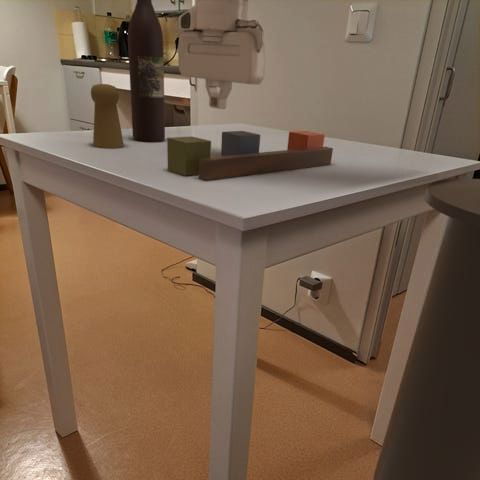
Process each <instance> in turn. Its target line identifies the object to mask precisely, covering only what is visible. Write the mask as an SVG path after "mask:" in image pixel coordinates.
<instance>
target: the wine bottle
mask: <svg viewBox="0 0 480 480" xmlns="http://www.w3.org/2000/svg"><path fill="white" fill-rule="evenodd" d="M152 2H153V1H152V0H136V3H135V6H134V10H133V12H132V14H131V17H130V19H129V23H128V27H127V28H128V29H127V48H128V49H127V51H128V70H129V86H130V87H129V89H130V107H131V108H130V109H131V110H130V111H131V126H132V128H131V129H132V130H131V131H132V138H133V140H136V141H139V142H148V143H156V142H157V143H158V142H163V141H165V137H166V121H165V120H166V119H165V118H166V117H165V115H166V114H165V112H166V111H165V69H164V68H165V66H164V65H165V63H164V34H163V28H162V25H161V22H160V20H159V18H158V15H157V13H156V10H155V8H154V5H153V3H152Z"/></svg>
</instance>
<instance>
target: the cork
mask: <svg viewBox="0 0 480 480" xmlns="http://www.w3.org/2000/svg"><path fill="white" fill-rule="evenodd" d="M90 97H91V100H92V101H93V103H94V110H93V111H94V112H93V113H94V114H93V138H92V144H93V145H92V146H94V147H95V148H96V147H97V148H102V149H120V148H124V147H125V143H124V137H123V132H122V127H121V122H120V118H119V117H120V116H119V111H118V105H117V104H118V102H119V101H120V100H119V99H120V94H119V90H118V89H117V87H116V86H114V85H113V84H109V83H108V84H107V83H97V84H93V85H92V87H91V88H90Z"/></svg>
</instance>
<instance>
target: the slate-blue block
mask: <svg viewBox="0 0 480 480" xmlns="http://www.w3.org/2000/svg"><path fill="white" fill-rule="evenodd" d="M260 144H261V133H260V134H259V133H256V132H255V133H254V132H251V131H250V132H249V131H245V130H234V131H232V130H231V131H222V132H221V146H220V147H221V148H220V149H221V150H220V156H228V155H239V154H250V153H260V146H261V145H260Z"/></svg>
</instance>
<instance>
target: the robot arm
mask: <svg viewBox="0 0 480 480" xmlns="http://www.w3.org/2000/svg"><path fill="white" fill-rule="evenodd" d="M248 10H249V0H195V4H194V5H193V6H191V7H190V8H189V9H188V10H186V11H185V12H183V13H182V14H181V15H179V16H178V20H177V28H178V30H179V31H181V32H180V34H179V37H178V49H177V50H178V52H177V53H178V54H177V56H178V58H177V60H178V70H179V72H180V75H181V77H186V78H194V79H203V80H205V85H204V86H205V89H206V93H207V95H208V97H209V98H208V99H209V101H208V106H209V107H210V108H213V109H218V110H226V109H227V103H228V102H227V101H228V100H227V99H228V97H229V95H230V93H231V91H232V89H233V83H236V84H243V85H256V86H257V85H261V83H262V82H263V80H264V78H265V68H266V66H265V64H266V60H265V59H266V56H265V55H266V54H265V53H266V52H265V42H264V36H265V35H264V34H265V31H264V29H263V26H262V25H261V24H260V23H259V21H258V20H255V19H251V20H248ZM218 88H219V91H218Z"/></svg>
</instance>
